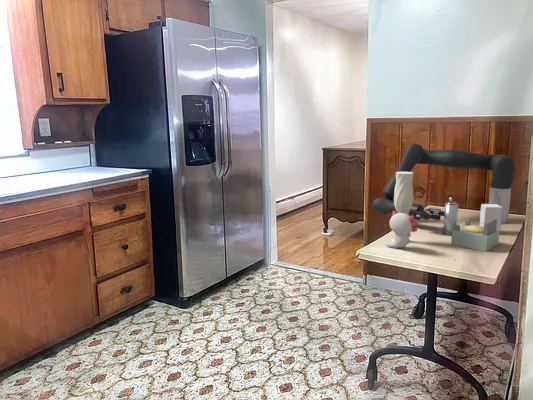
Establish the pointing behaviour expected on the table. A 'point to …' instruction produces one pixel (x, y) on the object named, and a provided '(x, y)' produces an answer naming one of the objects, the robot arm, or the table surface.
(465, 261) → the table surface
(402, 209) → the vase
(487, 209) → the supplement box
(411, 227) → the toy
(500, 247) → the table surface
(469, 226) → the green and yellow block
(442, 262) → the table surface
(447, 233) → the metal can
